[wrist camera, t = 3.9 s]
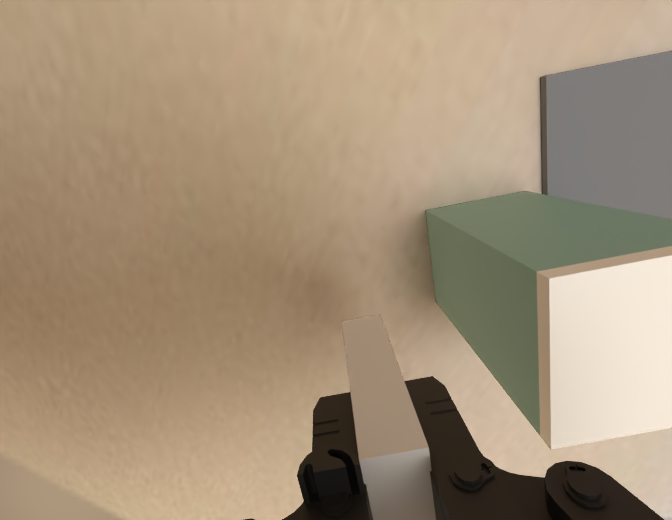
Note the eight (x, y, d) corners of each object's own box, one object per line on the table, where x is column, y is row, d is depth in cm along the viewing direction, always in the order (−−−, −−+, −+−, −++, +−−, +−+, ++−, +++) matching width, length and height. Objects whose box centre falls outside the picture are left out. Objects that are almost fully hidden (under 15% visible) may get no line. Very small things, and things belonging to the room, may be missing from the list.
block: (425, 210, 21) (549, 278, 10) (525, 191, 21) (766, 237, 10) (435, 301, 23) (550, 449, 12) (528, 284, 23) (735, 415, 12)
